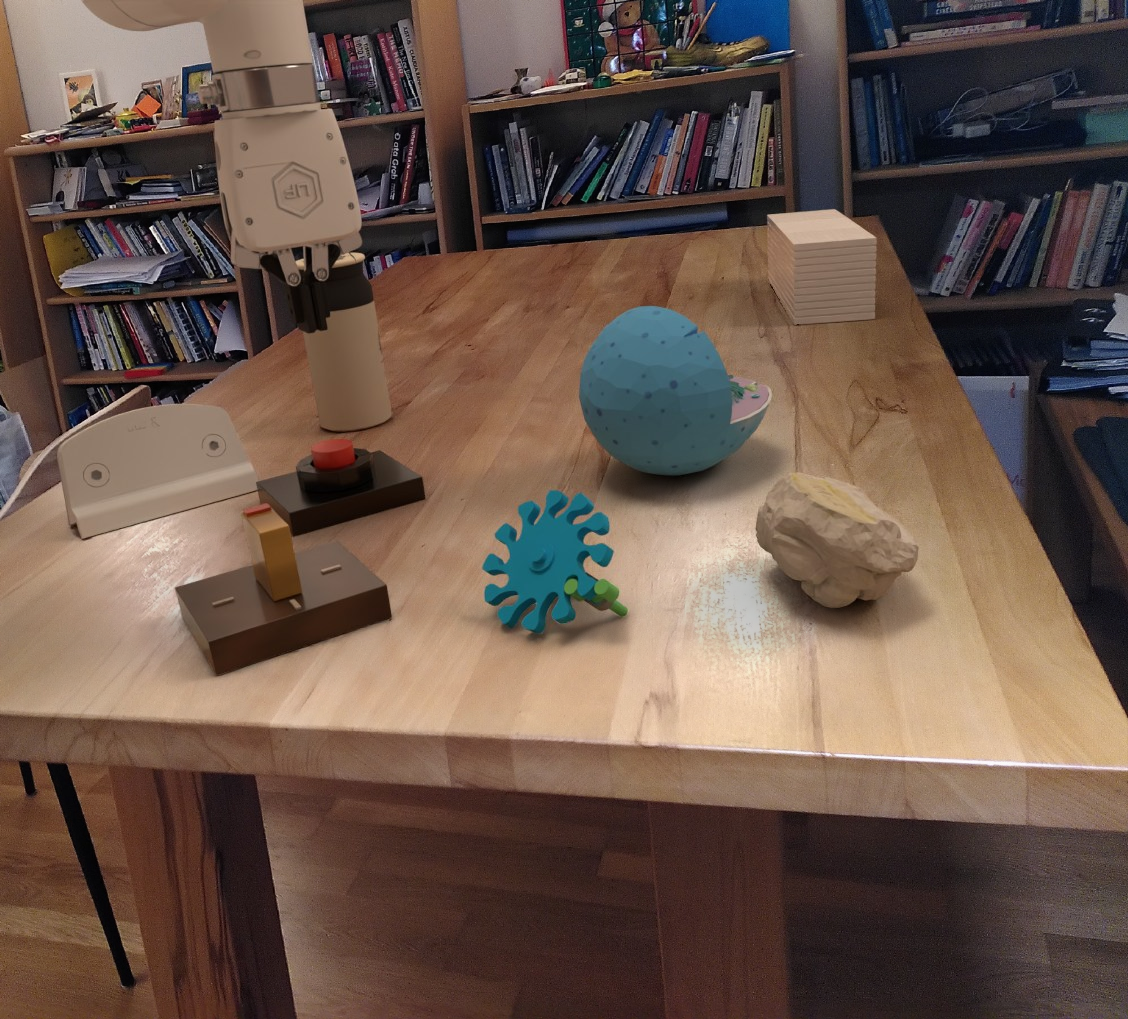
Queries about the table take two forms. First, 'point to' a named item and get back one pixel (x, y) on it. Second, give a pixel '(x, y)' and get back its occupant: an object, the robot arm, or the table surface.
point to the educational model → (665, 395)
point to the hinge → (151, 466)
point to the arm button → (333, 453)
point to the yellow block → (271, 551)
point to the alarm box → (340, 491)
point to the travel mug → (348, 352)
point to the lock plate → (281, 608)
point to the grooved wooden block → (822, 266)
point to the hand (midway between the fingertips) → (312, 329)
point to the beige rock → (833, 539)
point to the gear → (551, 564)
